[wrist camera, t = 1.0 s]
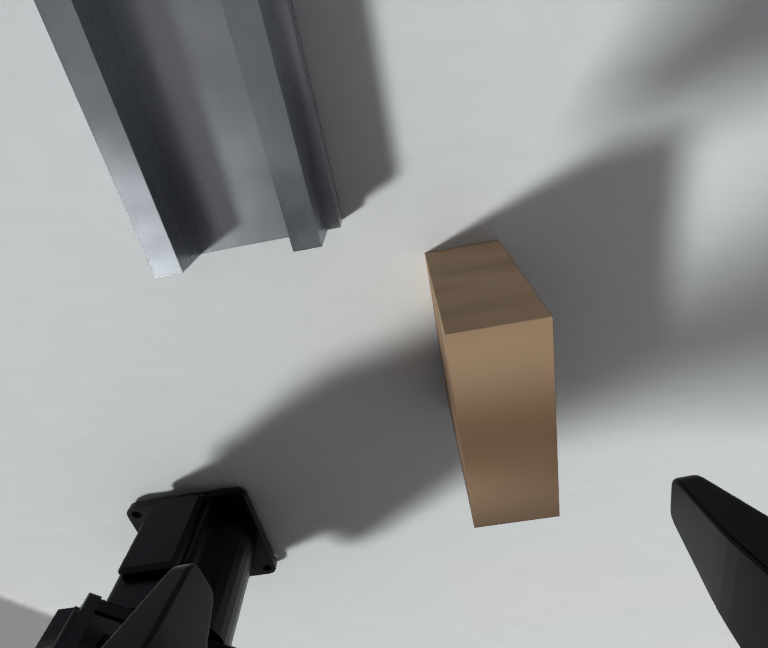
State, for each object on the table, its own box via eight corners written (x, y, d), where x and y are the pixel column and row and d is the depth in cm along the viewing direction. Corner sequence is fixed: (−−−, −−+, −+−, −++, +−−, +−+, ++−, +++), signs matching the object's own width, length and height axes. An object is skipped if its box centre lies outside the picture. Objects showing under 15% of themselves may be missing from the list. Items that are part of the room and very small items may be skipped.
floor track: (342, 219, 19) (330, 264, 15) (174, 252, 20) (114, 304, 15) (221, -294, 13) (138, -489, 8) (-21, -225, 13) (-221, -373, 9)
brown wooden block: (511, 397, 23) (559, 515, 17) (449, 407, 24) (474, 527, 17) (497, 239, 20) (552, 316, 13) (424, 252, 20) (445, 334, 14)
